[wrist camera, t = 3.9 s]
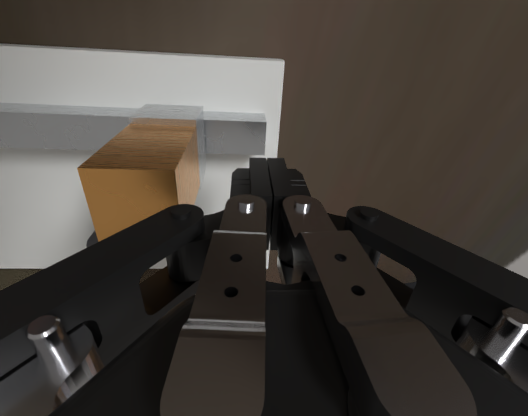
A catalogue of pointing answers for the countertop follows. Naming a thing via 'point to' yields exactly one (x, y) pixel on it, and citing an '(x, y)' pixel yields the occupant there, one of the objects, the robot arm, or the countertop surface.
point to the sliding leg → (145, 167)
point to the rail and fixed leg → (117, 128)
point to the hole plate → (68, 160)
